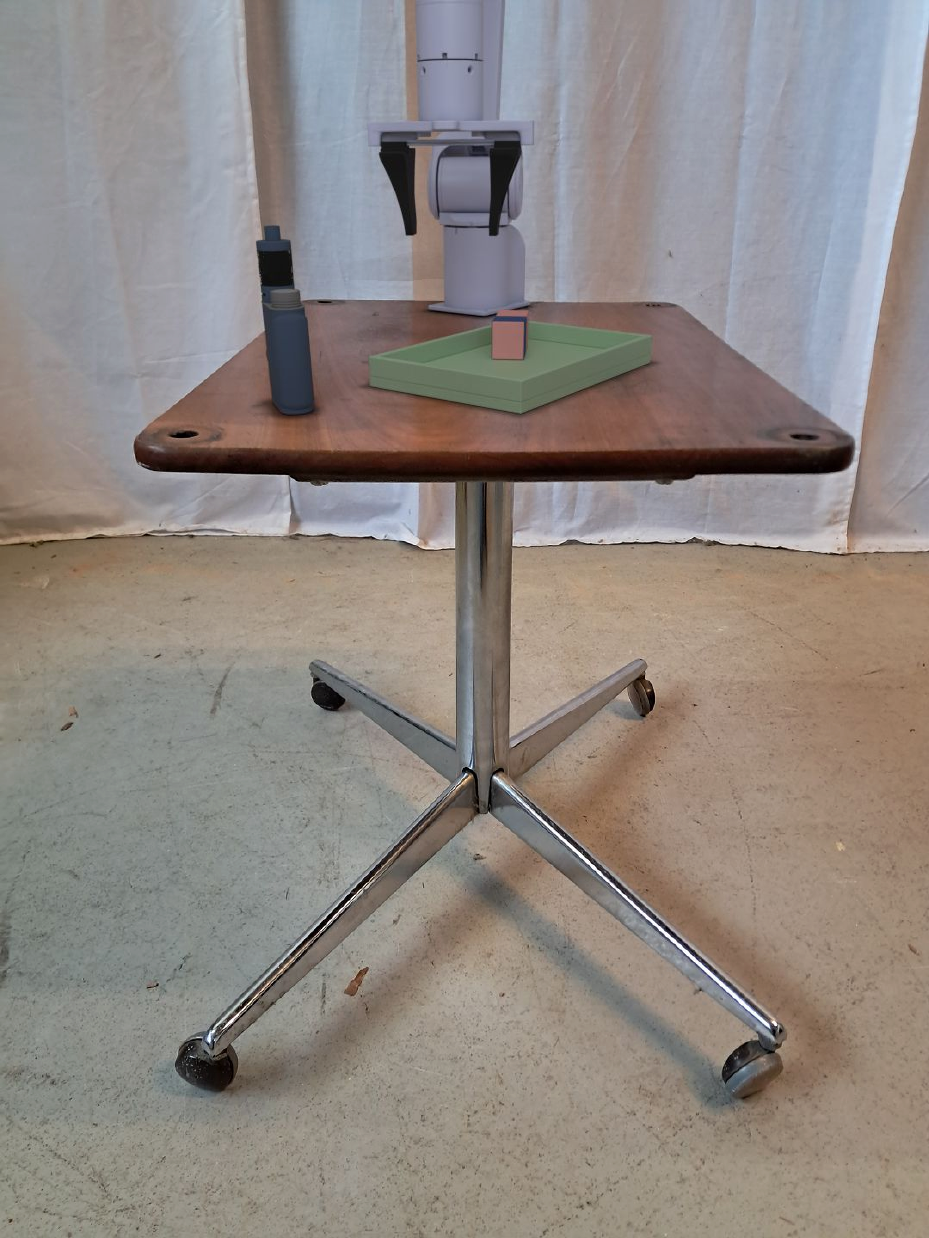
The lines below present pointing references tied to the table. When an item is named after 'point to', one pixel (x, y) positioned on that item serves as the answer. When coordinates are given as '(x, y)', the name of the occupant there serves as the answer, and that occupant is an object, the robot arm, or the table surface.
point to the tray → (510, 366)
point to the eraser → (510, 334)
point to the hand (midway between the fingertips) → (452, 235)
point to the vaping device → (284, 326)
